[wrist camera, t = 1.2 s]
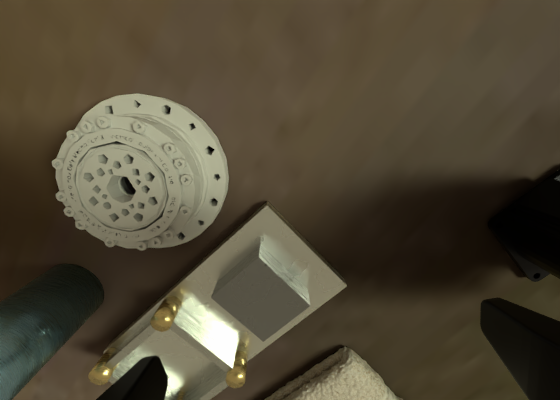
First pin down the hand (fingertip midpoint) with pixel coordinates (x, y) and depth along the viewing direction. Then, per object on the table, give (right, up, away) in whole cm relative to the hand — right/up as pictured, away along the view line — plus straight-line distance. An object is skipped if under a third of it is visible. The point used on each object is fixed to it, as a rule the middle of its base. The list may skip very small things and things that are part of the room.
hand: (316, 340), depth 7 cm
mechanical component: (-9, +6, +11) cm, 16 cm away
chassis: (-6, -5, +14) cm, 16 cm away
